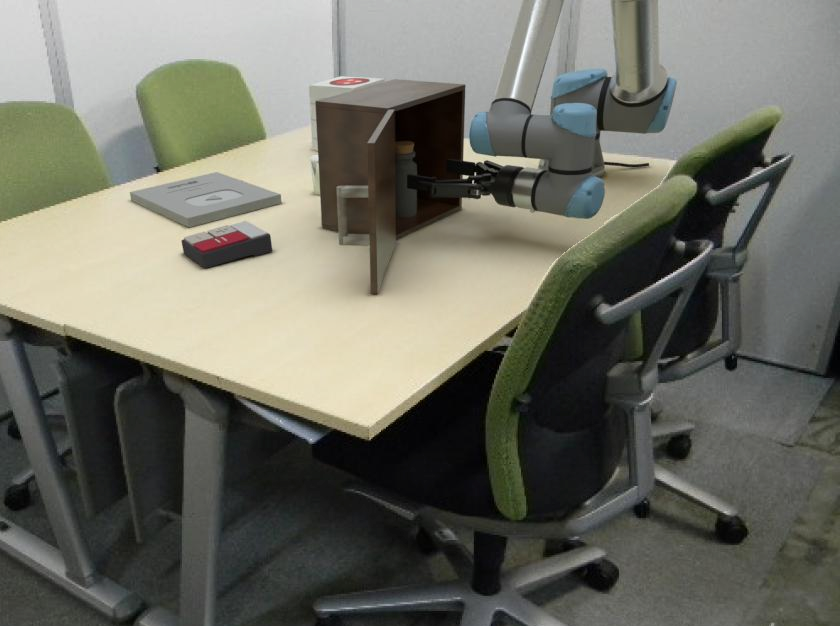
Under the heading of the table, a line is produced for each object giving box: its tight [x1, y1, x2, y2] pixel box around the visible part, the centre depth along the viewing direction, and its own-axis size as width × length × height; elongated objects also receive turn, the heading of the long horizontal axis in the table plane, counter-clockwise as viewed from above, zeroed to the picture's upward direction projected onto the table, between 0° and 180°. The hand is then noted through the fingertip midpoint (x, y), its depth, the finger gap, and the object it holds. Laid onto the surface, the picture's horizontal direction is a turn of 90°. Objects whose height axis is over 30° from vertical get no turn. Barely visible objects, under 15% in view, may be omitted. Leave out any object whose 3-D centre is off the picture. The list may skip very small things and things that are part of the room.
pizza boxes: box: [308, 75, 386, 152], centre depth 233 cm, size 19×30×18 cm, turn 31°
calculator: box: [181, 220, 273, 269], centre depth 170 cm, size 11×4×15 cm
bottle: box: [395, 141, 417, 218], centre depth 179 cm, size 6×6×15 cm
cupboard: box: [315, 78, 466, 241], centre depth 177 cm, size 18×26×26 cm
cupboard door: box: [337, 110, 397, 295], centre depth 153 cm, size 7×26×26 cm, turn 168°
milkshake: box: [309, 154, 320, 196], centre depth 202 cm, size 4×5×10 cm
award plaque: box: [129, 171, 282, 228], centre depth 204 cm, size 25×30×2 cm
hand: (427, 173), depth 174 cm, fingers open, 13 cm apart
